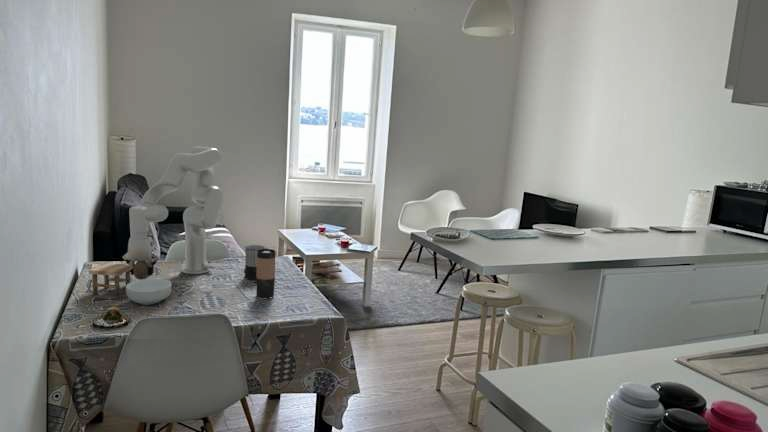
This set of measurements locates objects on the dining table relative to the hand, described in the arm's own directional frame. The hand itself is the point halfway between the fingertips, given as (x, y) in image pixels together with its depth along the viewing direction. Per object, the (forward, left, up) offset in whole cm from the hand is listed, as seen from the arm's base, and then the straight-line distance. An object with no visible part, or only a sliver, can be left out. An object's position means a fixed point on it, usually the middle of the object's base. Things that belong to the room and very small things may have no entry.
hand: (142, 274), depth 235 cm
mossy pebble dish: (-10, +46, -5) cm, 47 cm away
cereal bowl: (-12, +21, -5) cm, 25 cm away
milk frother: (-42, -25, -5) cm, 49 cm away
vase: (0, 0, -2) cm, 2 cm away
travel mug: (-55, +6, -5) cm, 56 cm away
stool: (+7, +13, -4) cm, 15 cm away
